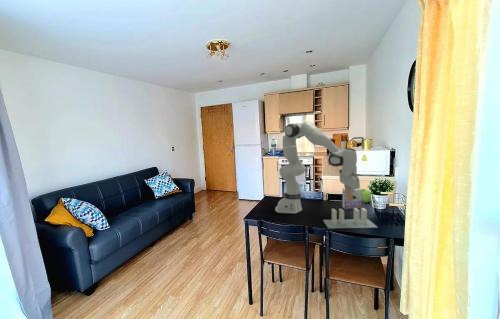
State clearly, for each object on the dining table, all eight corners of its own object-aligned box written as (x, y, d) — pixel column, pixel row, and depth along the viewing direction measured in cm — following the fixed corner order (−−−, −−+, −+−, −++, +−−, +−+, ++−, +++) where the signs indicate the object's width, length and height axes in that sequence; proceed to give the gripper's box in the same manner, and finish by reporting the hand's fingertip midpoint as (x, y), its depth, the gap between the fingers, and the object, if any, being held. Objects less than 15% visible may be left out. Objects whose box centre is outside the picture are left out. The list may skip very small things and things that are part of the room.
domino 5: (364, 224, 151) (364, 210, 150) (360, 221, 156) (361, 207, 155) (366, 224, 151) (367, 210, 149) (363, 221, 156) (363, 207, 154)
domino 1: (333, 225, 152) (334, 211, 151) (331, 222, 157) (331, 208, 156) (336, 225, 152) (336, 211, 151) (334, 222, 157) (334, 208, 156)
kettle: (374, 204, 190) (375, 191, 189) (356, 203, 193) (357, 191, 192) (369, 198, 204) (370, 187, 203) (353, 198, 208) (353, 186, 206)
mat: (328, 228, 148) (328, 228, 148) (322, 220, 162) (322, 219, 162) (377, 228, 146) (377, 227, 146) (367, 219, 160) (368, 218, 160)
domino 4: (356, 224, 151) (356, 210, 150) (353, 221, 156) (353, 208, 155) (359, 224, 151) (359, 210, 150) (356, 221, 156) (356, 208, 155)
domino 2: (341, 225, 152) (341, 211, 151) (338, 222, 157) (339, 208, 156) (344, 225, 152) (344, 211, 150) (341, 222, 157) (341, 208, 155)
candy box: (359, 206, 186) (359, 187, 184) (362, 209, 180) (362, 189, 178) (342, 207, 187) (342, 188, 185) (344, 209, 182) (344, 189, 179)
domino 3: (349, 202, 149) (349, 187, 148) (346, 199, 154) (346, 185, 153) (352, 201, 149) (352, 187, 148) (348, 199, 154) (348, 185, 153)
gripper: (362, 174, 139) (362, 196, 141) (346, 169, 159) (346, 188, 161) (352, 175, 139) (352, 196, 141) (338, 169, 159) (337, 188, 161)
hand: (349, 192), depth 151 cm, fingers closed on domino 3, 5 cm apart
